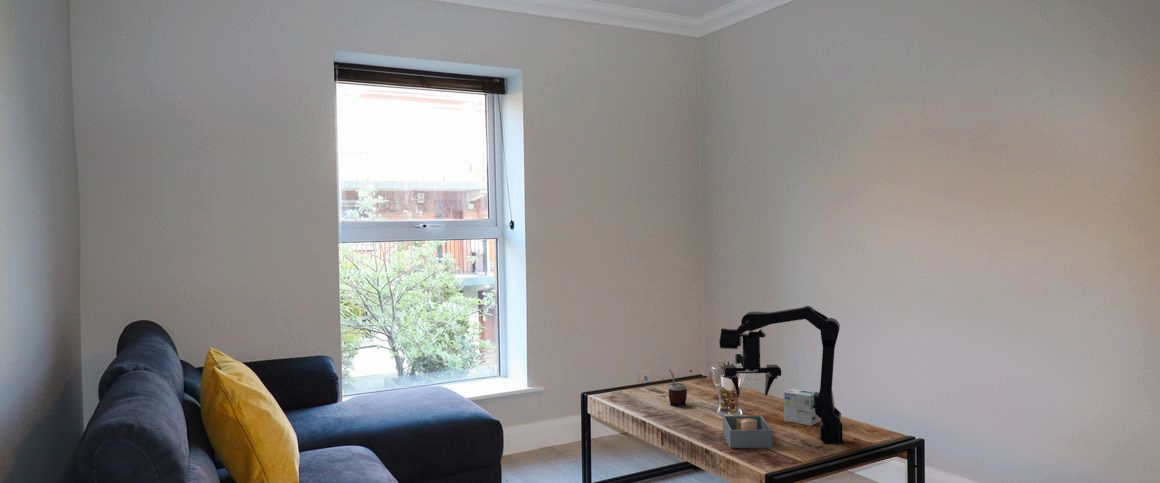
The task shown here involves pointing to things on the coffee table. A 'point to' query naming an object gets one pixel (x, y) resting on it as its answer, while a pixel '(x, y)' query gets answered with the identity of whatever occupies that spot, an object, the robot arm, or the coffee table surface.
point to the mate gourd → (677, 393)
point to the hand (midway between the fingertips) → (751, 395)
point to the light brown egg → (748, 424)
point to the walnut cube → (738, 424)
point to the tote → (747, 433)
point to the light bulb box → (800, 407)
